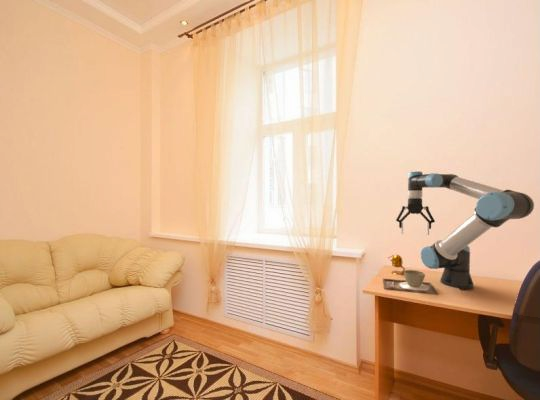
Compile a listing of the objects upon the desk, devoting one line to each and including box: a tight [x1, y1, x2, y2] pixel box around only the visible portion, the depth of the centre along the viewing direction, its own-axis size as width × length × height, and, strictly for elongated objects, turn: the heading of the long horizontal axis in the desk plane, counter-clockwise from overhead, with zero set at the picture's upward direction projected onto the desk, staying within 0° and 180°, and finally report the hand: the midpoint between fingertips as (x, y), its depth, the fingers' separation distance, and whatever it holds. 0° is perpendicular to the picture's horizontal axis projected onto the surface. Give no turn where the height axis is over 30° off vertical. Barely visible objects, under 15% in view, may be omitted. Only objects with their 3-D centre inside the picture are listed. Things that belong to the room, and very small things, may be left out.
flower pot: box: [403, 269, 426, 287], centre depth 147 cm, size 10×10×7 cm
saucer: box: [399, 282, 429, 291], centre depth 147 cm, size 14×14×1 cm
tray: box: [382, 278, 438, 295], centre depth 148 cm, size 24×16×2 cm, turn 71°
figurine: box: [387, 254, 406, 276], centre depth 175 cm, size 9×11×12 cm
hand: (414, 234), depth 163 cm, fingers open, 13 cm apart
